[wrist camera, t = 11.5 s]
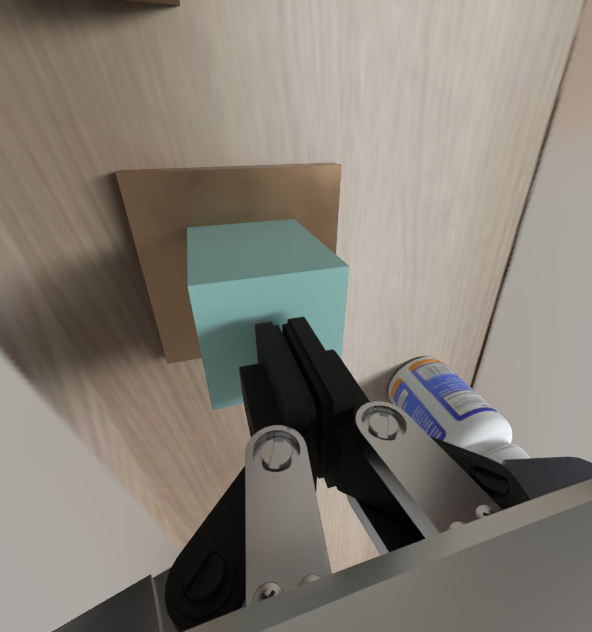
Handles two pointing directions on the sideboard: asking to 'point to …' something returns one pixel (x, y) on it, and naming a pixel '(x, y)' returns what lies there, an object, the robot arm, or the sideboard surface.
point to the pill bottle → (452, 410)
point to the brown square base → (215, 209)
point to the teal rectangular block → (259, 293)
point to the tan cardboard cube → (157, 1)
